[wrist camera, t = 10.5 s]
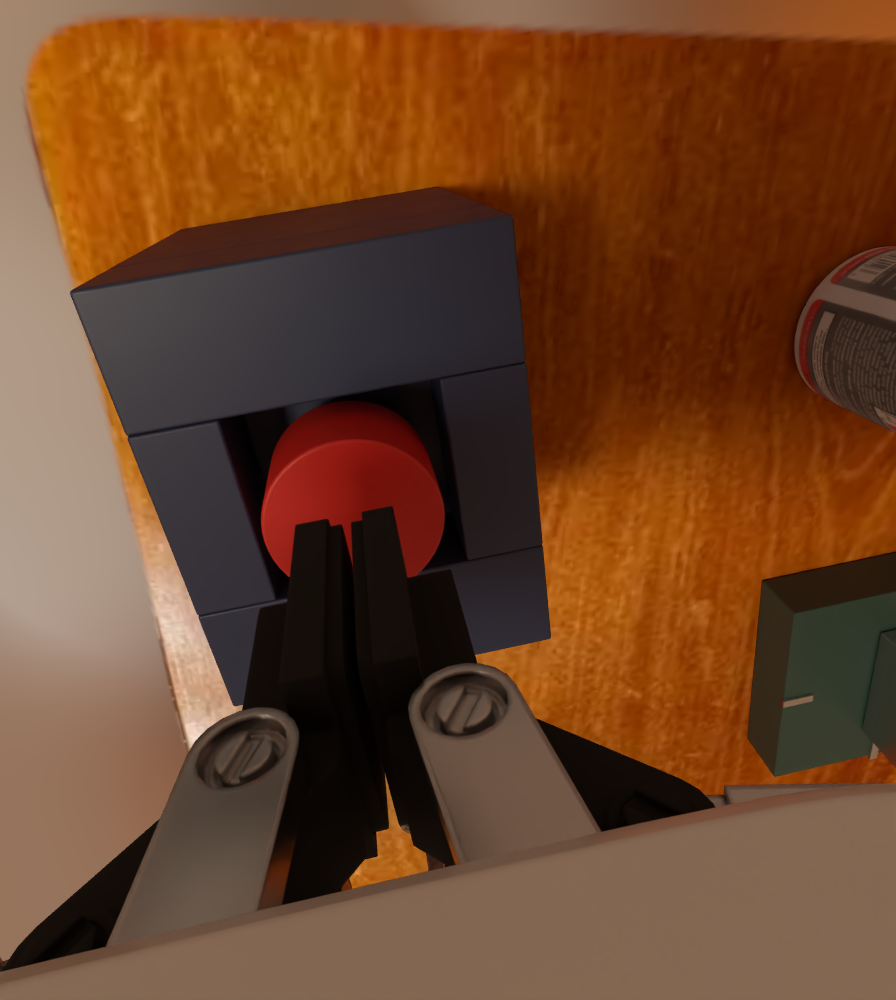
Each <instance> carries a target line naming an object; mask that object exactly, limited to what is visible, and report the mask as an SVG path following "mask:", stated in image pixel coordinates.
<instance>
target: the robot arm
mask: <svg viewBox="0 0 896 1000" xmlns="http://www.w3.org/2000/svg"><path fill="white" fill-rule="evenodd" d="M351 536H352V559H353V565H352V561H351V557H350V553H349V549H348V545H347V541H346V537H345V533H344V529H343V526H342V524H340V525H335V526H331V525H330V522H329V520H328V519H322V520H317V521H312V522H307V523H302V524H297V525H296V526H295V532H294V541H293V551H292V560H291V570H290V579H289V588H288V598H287V602H286V603H281V604H276V605H271V606H266V607H262V608H261V609H260V610H259V614H258V619H257V625H256V631H255V637H254V643H253V649H252V655H251V661H250V667H249V673H248V679H247V685H246V691H245V697H244V703H243V709H242V711H239V712H236V713H234V714H232V715H230V716H227V717H225V718H223V719H221V720H220V721H218V722H217V723H215V724H214V725H212V726H211V727H209V728H208V729H207V730H206V731H205V732H204V733H203V734H202V735H201V736H200V737H199V738H198V739H197V740H196V741H195V742H194V744H193V746H192V747H191V749H190V751H189V752H188V754H187V756H186V758H185V761H184V763H183V765H182V768H181V770H180V772H179V775H178V777H177V780H176V782H175V784H174V787H173V789H172V792H171V794H170V796H169V799H168V801H167V803H166V806H165V808H164V810H163V813H162V815H161V818H160V819H159V820H158V821H157V822H155V823H154V824H153V825H152V826H151V827H150V828H149V829H147V830H146V831H145V832H144V833H143V834H142V835H141V836H140V837H138V838H137V839H136V840H135V841H134V842H133V843H132V844H130V845H129V846H128V847H127V848H126V849H125V850H124V851H122V852H121V853H120V854H119V855H118V856H117V857H116V858H114V859H113V860H112V861H111V862H110V863H109V864H108V865H106V866H105V867H104V868H103V869H102V870H101V871H100V872H98V873H97V874H96V875H95V876H94V877H93V878H92V879H91V880H90V881H88V882H87V883H86V884H85V885H84V886H83V887H81V888H80V889H79V890H78V891H77V892H76V893H75V894H73V896H71V897H70V898H69V899H68V900H67V901H65V902H64V903H63V904H62V905H61V906H60V907H59V908H58V909H56V910H55V911H54V912H53V913H52V914H51V915H50V916H48V917H47V918H46V919H45V920H44V921H43V922H42V923H40V925H38V926H37V927H36V928H35V929H34V930H33V931H32V932H31V933H30V934H29V935H28V936H27V937H26V938H25V940H23V942H22V943H21V944H20V945H19V946H18V947H17V948H16V950H15V952H14V953H13V954H12V956H11V957H10V959H8V960H6V961H4V962H3V961H2V959H1V958H0V1000H896V784H888V783H839V784H777V785H724V795H704V794H703V793H702V792H701V791H700V790H699V789H698V788H696V787H694V786H692V785H690V784H689V783H687V782H685V781H683V780H682V779H680V778H677V777H675V776H672V775H670V774H668V773H665V772H663V771H660V770H658V769H656V768H653V767H651V766H649V765H646V764H644V763H641V762H639V761H637V760H634V759H632V758H629V757H627V756H625V755H622V754H620V753H618V752H615V751H613V750H610V749H608V748H606V747H603V746H601V745H598V744H596V743H594V742H591V741H589V740H586V739H584V738H582V737H579V736H577V735H575V734H572V733H570V732H567V731H565V730H563V729H560V728H558V727H555V726H553V725H551V724H548V723H546V722H543V721H541V720H539V719H536V718H535V716H534V715H533V713H532V711H531V710H530V708H529V706H528V704H527V703H526V701H525V699H524V698H523V696H522V694H521V692H520V691H519V689H518V687H517V686H516V684H515V683H514V682H513V681H512V679H511V678H510V677H509V676H508V675H507V674H506V673H504V672H502V671H500V670H499V669H497V668H495V667H492V666H488V665H484V664H477V660H476V657H475V653H474V650H473V646H472V643H471V639H470V635H469V632H468V628H467V625H466V621H465V617H464V614H463V610H462V607H461V603H460V600H459V596H458V592H457V589H456V585H455V582H454V578H453V575H452V571H451V569H448V570H443V571H438V572H433V573H428V574H423V575H418V576H413V577H408V576H407V572H406V567H405V562H404V557H403V552H402V547H401V543H400V538H399V533H398V528H397V523H396V518H395V514H394V509H393V506H389V507H383V508H378V509H373V510H368V511H363V512H362V520H360V521H355V522H351ZM385 774H386V778H387V782H388V785H389V789H390V793H391V797H392V800H393V804H394V808H395V811H396V815H397V819H398V822H399V825H400V826H404V825H408V826H409V830H410V834H411V838H412V841H413V845H414V846H415V847H417V848H419V849H420V850H422V851H424V852H425V853H427V854H428V855H430V856H432V857H433V858H435V859H437V860H438V861H440V862H441V863H443V865H444V868H440V869H436V870H432V871H427V872H423V873H419V874H414V875H410V876H406V877H401V878H397V879H393V880H388V881H384V882H380V883H376V884H371V885H367V886H363V887H358V888H354V889H352V886H351V883H350V880H349V878H350V876H351V875H352V874H353V873H354V872H355V870H356V869H357V868H358V867H359V866H360V864H361V863H362V862H363V861H364V860H365V859H369V858H373V857H377V856H378V854H377V838H376V832H377V831H382V830H386V829H388V828H389V819H388V807H387V794H386V782H385Z"/></svg>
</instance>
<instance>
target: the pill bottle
mask: <svg viewBox="0 0 896 1000" xmlns="http://www.w3.org/2000/svg"><path fill="white" fill-rule="evenodd" d="M794 352H795V359H796V364H797V367H798V370H799V373H800V375H801V377H802V378H803V380H804V381H805V383H806V384H807V385H808V386H809V387H810V388H811V389H812V390H813V391H814V392H816V393H817V394H818V395H820V396H822V397H823V398H825V399H827V400H828V401H830V402H833V403H835V404H837V405H839V406H841V407H843V408H845V409H847V410H849V411H852V412H854V413H856V414H858V415H860V416H862V417H864V418H866V419H868V420H870V421H872V422H874V423H876V424H878V425H880V426H882V427H884V428H886V429H888V430H890V431H892V432H894V433H896V246H888V247H879V248H874V249H871V250H867V251H865V252H862V253H860V254H857V255H855V256H853V257H852V258H850V259H848V260H847V261H845V262H844V263H842V264H840V265H839V266H838V267H837V268H835V269H834V270H833V271H832V272H831V273H830V274H828V275H827V276H826V277H825V279H824V280H823V281H822V282H821V283H820V284H819V285H818V286H817V288H816V289H815V290H814V292H813V293H812V295H811V296H810V298H809V299H808V301H807V303H806V305H805V307H804V309H803V311H802V313H801V316H800V318H799V321H798V325H797V329H796V334H795V342H794Z"/></svg>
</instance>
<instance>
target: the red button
mask: <svg viewBox="0 0 896 1000" xmlns="http://www.w3.org/2000/svg"><path fill="white" fill-rule="evenodd" d="M389 506H393V509H394V514H395V518H396V523H397V528H398V533H399V538H400V543H401V547H402V552H403V557H404V562H405V567H406V572H407V576H408V577H413V576H416V575H417V574H418V573H419V572H421V570H422V569H423V568H424V567H425V566H426V565H427V564H428V562H429V561H430V560H431V558H432V557H433V555H434V553H435V552H436V550H437V548H438V546H439V543H440V540H441V538H442V534H443V529H444V522H445V512H444V503H443V499H442V495H441V492H440V489H439V486H438V482H437V479H436V476H435V473H434V470H433V467H432V463H431V460H430V457H429V454H428V451H427V449H426V446H425V444H424V442H423V440H422V438H421V437H420V435H419V434H418V432H417V431H416V430H415V429H414V427H413V426H412V425H411V424H410V423H409V422H408V421H407V420H405V419H404V418H403V417H401V416H400V415H399V414H397V413H395V412H394V411H392V410H390V409H388V408H385V407H383V406H380V405H378V404H374V403H370V402H364V401H338V402H332V403H328V404H324V405H321V406H319V407H316V408H314V409H312V410H310V411H308V412H306V413H305V414H303V415H302V416H300V417H299V418H298V419H296V420H295V421H294V422H293V423H292V424H291V425H290V426H289V427H288V428H287V429H286V430H285V432H284V433H283V434H282V436H281V437H280V439H279V441H278V443H277V444H276V447H275V449H274V452H273V455H272V459H271V464H270V469H269V474H268V479H267V484H266V489H265V495H264V500H263V505H262V512H261V528H262V534H263V538H264V542H265V544H266V547H267V549H268V551H269V553H270V555H271V557H272V558H273V560H274V561H275V563H276V564H277V565H278V566H279V568H280V569H281V570H282V571H283V572H284V573H285V574H286V575H287V576H288V577H290V570H291V560H292V551H293V541H294V532H295V526H296V525H297V524H302V523H307V522H312V521H317V520H322V519H328V520H329V522H330V525H331V526H335V525H340V524H342V526H343V529H344V533H345V537H346V541H347V545H348V549H349V553H350V557H351V561H352V565H353V559H352V536H351V522H355V521H360V520H362V512H363V511H368V510H373V509H378V508H383V507H389Z"/></svg>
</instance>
